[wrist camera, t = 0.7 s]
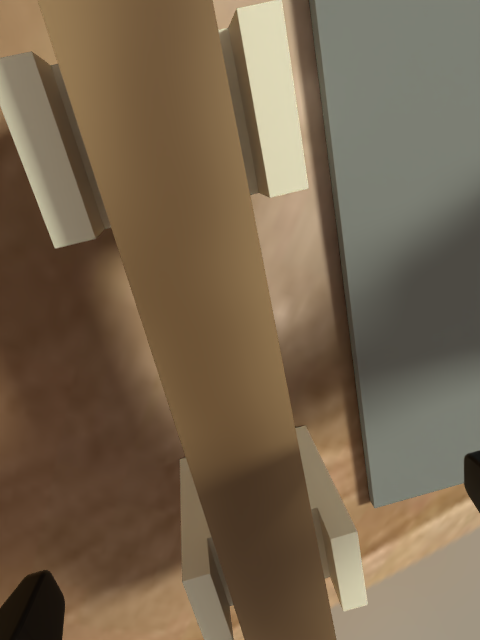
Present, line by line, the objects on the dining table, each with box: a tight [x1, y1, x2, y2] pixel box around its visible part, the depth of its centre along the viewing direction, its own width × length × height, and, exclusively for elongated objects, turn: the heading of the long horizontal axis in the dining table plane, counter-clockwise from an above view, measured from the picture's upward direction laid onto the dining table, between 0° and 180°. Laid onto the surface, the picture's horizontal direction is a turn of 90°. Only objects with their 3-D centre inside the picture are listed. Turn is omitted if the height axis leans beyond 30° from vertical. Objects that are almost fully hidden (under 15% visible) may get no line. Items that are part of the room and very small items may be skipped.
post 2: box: [180, 426, 368, 640], centre depth 19 cm, size 6×4×6 cm, turn 102°
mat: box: [309, 0, 480, 508], centre depth 19 cm, size 8×24×1 cm, turn 12°
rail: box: [38, 0, 336, 640], centre depth 13 cm, size 3×22×3 cm, turn 12°
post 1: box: [0, 0, 309, 248], centre depth 13 cm, size 6×4×6 cm, turn 102°
